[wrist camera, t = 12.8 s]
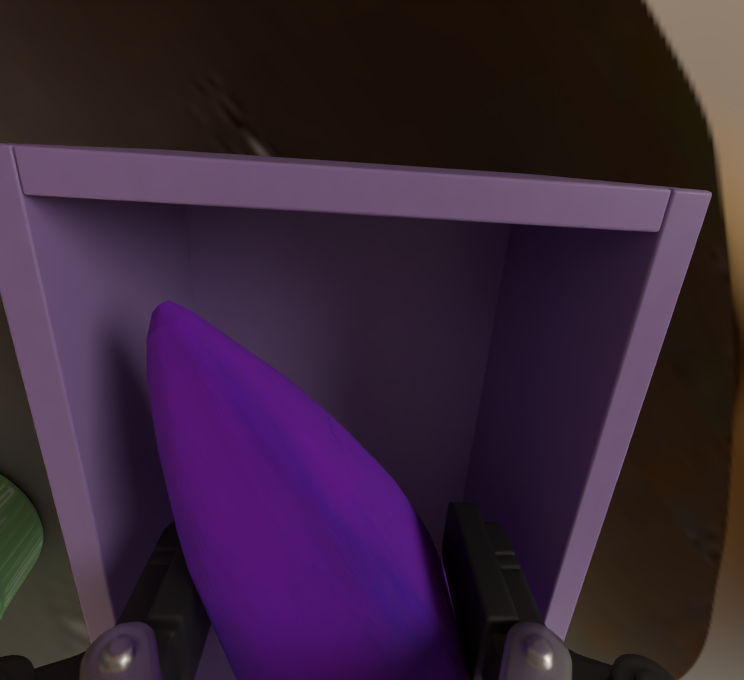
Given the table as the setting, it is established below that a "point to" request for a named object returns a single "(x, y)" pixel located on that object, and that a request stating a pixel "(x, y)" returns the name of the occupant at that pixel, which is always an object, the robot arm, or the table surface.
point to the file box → (344, 333)
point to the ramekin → (16, 540)
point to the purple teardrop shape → (291, 522)
